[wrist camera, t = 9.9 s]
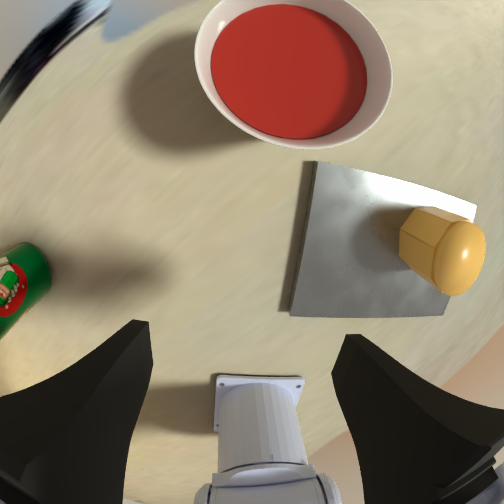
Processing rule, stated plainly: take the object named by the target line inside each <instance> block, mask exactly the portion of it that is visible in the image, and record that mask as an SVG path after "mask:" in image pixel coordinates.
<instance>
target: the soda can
mask: <svg viewBox="0 0 504 504" xmlns="http://www.w3.org/2000/svg"><path fill="white" fill-rule="evenodd" d="M50 285H51V274H50V268H49V265H48V263H47V260H46V258H45V257H44V255H43V254H42V253H41V252H40V251H39V250H38V249H37V248H36V247H34V246H33V245H31V244H28V243H21V244H19V245H17V246H15V247H14V248H12V249H10V250H8V251H7V252H5V253H3V254H2V255H0V340H1V339H2V338H3V337H4V336H5V335H6V334H7V333H8V332H9V330H10V329H11V328H12V327H13V326H14V325H15V324H16V323H17V322H18V321H19V320H20V319H21V318H22V317H23V316H24V315H25V314H26V313H27V312H28V311H29V310H30V309H31V308H32V307H34V306H35V305H36V304H37V303H38V302H39V301H40V300H41V299H42V298H43V297H44V296H45V295H46V294H47V293H48V292H49V289H50Z"/></svg>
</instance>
